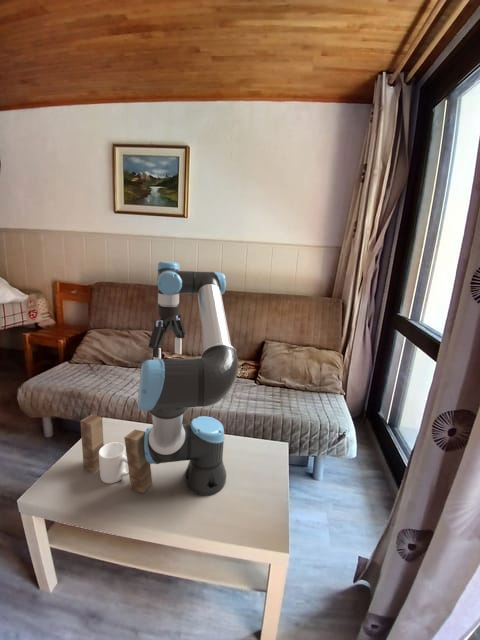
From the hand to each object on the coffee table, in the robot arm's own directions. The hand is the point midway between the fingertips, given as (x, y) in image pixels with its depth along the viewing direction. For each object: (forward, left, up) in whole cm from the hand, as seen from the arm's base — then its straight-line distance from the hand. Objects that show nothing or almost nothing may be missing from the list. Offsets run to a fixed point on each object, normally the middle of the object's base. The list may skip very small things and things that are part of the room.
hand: (168, 359), depth 117 cm
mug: (+7, +21, -40) cm, 46 cm away
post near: (-4, +21, -39) cm, 45 cm away
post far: (+18, +21, -40) cm, 48 cm away
